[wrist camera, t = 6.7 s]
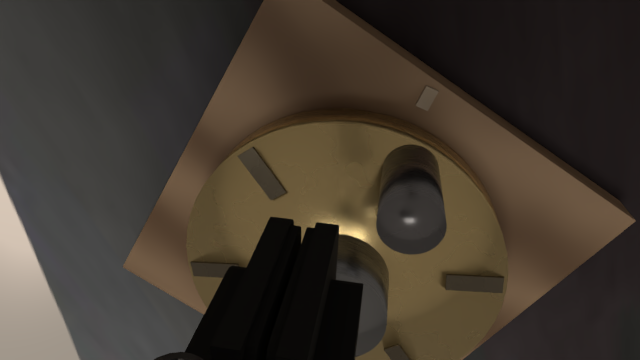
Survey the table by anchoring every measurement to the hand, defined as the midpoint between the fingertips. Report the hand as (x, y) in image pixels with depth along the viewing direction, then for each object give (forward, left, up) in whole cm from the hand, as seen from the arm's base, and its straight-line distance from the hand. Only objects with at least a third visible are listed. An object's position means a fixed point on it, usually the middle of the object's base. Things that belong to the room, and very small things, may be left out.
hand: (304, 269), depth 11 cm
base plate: (+7, +4, -14) cm, 16 cm away
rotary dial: (+7, +4, -12) cm, 14 cm away
